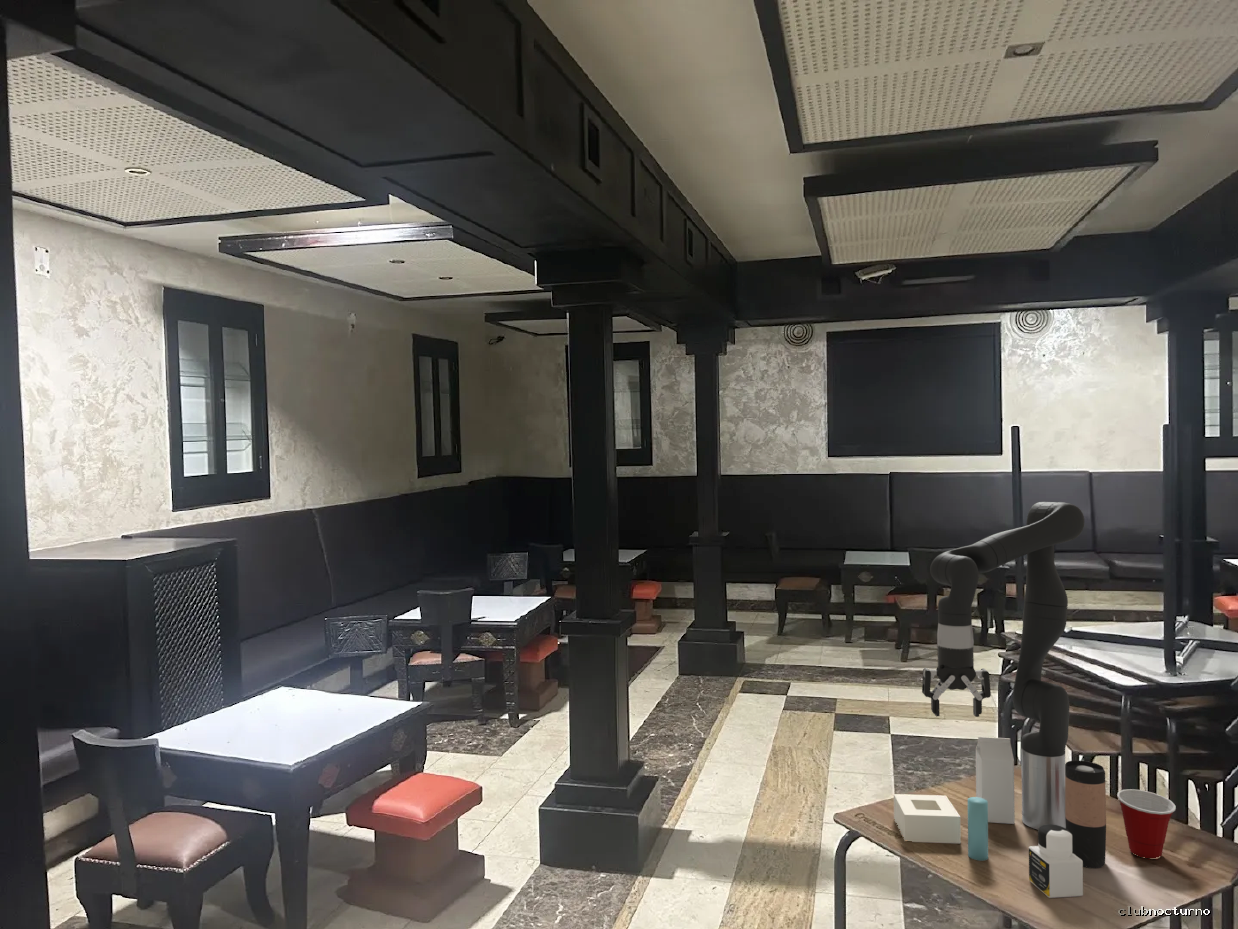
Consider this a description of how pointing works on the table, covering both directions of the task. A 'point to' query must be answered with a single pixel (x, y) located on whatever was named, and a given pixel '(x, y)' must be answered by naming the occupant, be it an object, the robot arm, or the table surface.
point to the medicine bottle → (1055, 863)
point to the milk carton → (996, 778)
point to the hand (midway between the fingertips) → (956, 715)
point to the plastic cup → (1145, 821)
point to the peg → (978, 828)
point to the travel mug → (1086, 811)
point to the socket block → (927, 818)
